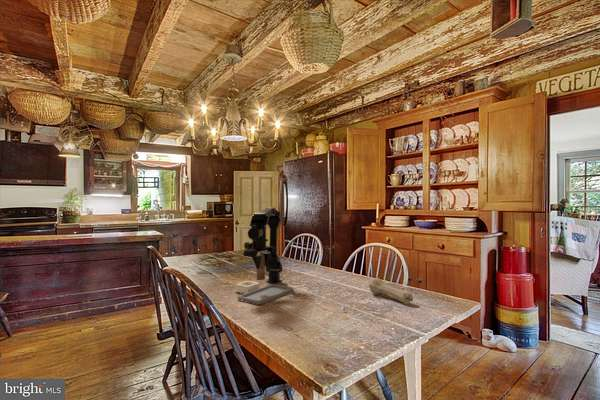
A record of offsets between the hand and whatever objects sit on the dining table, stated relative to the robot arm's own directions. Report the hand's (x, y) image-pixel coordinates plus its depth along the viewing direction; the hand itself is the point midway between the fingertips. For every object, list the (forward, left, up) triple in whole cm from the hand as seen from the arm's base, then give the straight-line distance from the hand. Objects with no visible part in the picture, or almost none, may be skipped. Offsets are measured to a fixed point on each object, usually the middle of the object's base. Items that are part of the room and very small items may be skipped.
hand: (260, 268), depth 156 cm
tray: (0, +4, -13) cm, 14 cm away
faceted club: (-28, +57, -14) cm, 65 cm away
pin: (0, 0, -6) cm, 6 cm away
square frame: (0, -9, -13) cm, 16 cm away
